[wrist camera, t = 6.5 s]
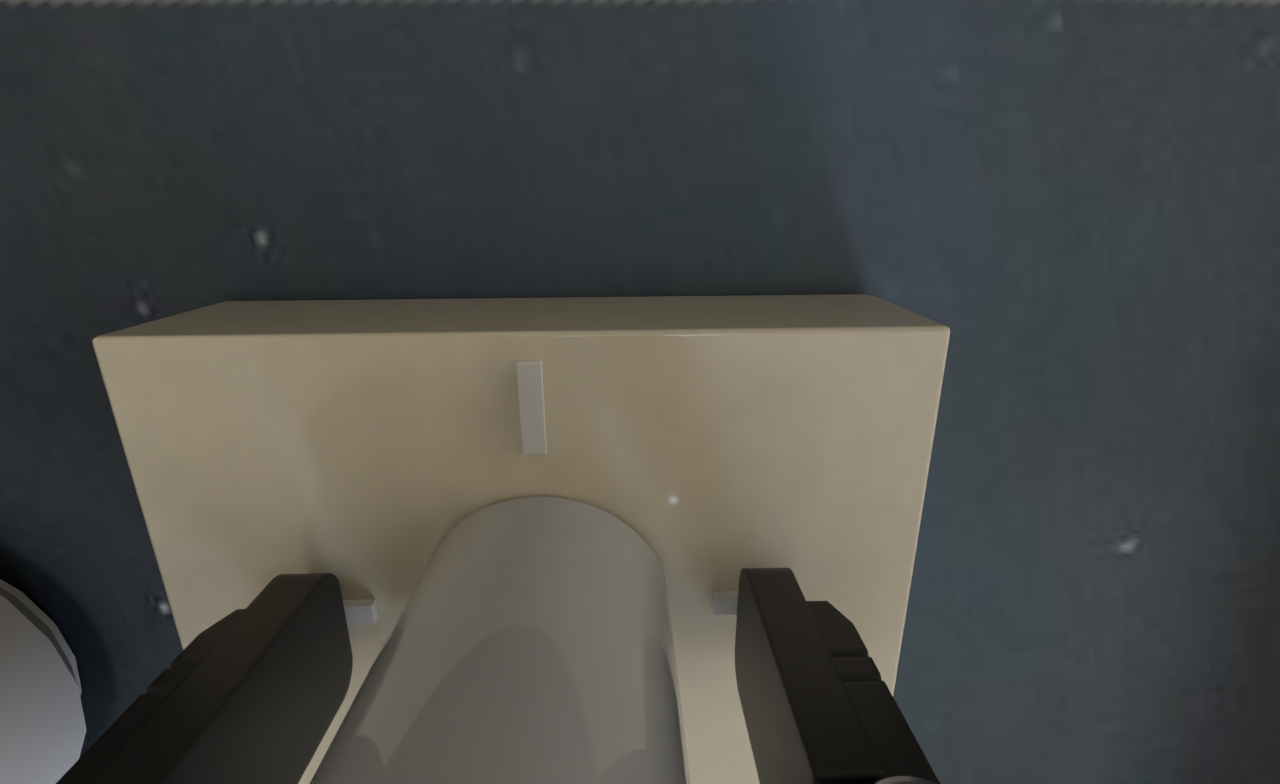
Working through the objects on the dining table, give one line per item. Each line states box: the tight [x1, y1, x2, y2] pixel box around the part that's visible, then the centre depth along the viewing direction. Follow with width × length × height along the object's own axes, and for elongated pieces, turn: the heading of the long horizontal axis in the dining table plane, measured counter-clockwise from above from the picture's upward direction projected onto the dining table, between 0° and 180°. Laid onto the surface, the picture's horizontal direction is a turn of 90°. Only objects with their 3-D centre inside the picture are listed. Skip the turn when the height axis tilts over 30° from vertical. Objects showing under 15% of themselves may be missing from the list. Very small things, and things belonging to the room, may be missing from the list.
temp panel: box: [92, 294, 950, 784], centre depth 11 cm, size 12×9×3 cm
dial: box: [310, 496, 691, 784], centre depth 7 cm, size 4×4×5 cm
